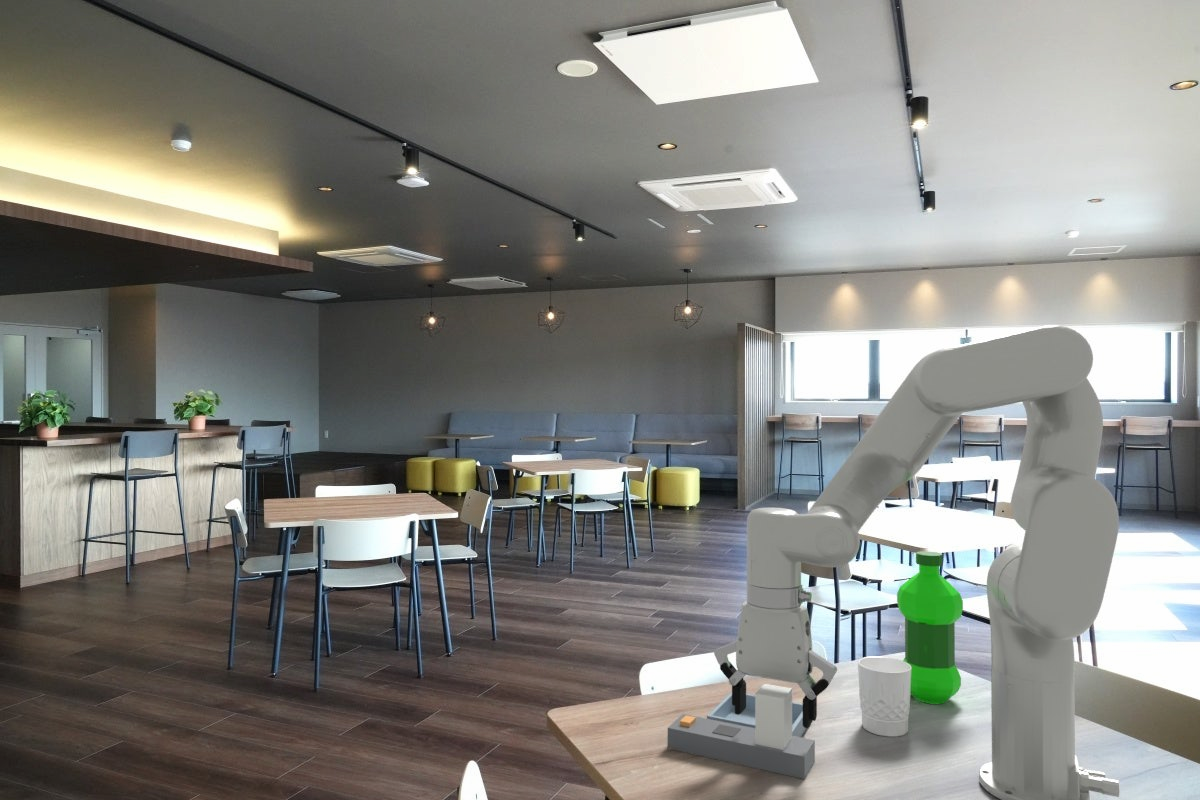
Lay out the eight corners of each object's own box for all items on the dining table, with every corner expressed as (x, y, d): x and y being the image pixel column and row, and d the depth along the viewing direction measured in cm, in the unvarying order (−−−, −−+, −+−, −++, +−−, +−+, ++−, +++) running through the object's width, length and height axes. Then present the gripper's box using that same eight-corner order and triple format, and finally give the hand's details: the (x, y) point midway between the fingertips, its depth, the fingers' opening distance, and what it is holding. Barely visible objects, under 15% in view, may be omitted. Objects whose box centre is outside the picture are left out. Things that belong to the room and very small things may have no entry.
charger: (792, 753, 110) (792, 688, 110) (783, 766, 106) (783, 698, 106) (764, 747, 112) (764, 683, 112) (755, 759, 108) (755, 693, 108)
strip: (814, 761, 109) (814, 735, 109) (804, 779, 104) (804, 752, 104) (683, 733, 119) (683, 709, 119) (667, 748, 113) (667, 723, 113)
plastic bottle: (887, 698, 134) (886, 553, 134) (915, 683, 141) (915, 546, 141) (945, 714, 126) (944, 561, 127) (972, 699, 133) (971, 553, 134)
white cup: (854, 732, 119) (854, 667, 119) (862, 715, 126) (862, 653, 126) (908, 742, 116) (908, 675, 116) (914, 724, 122) (914, 660, 123)
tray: (811, 724, 122) (811, 705, 122) (791, 753, 112) (791, 732, 112) (732, 709, 128) (732, 691, 128) (706, 735, 118) (706, 715, 118)
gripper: (841, 597, 109) (841, 720, 108) (724, 584, 117) (723, 698, 116) (830, 609, 102) (830, 740, 102) (706, 594, 110) (706, 715, 110)
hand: (773, 717), depth 109 cm, fingers open, 9 cm apart
